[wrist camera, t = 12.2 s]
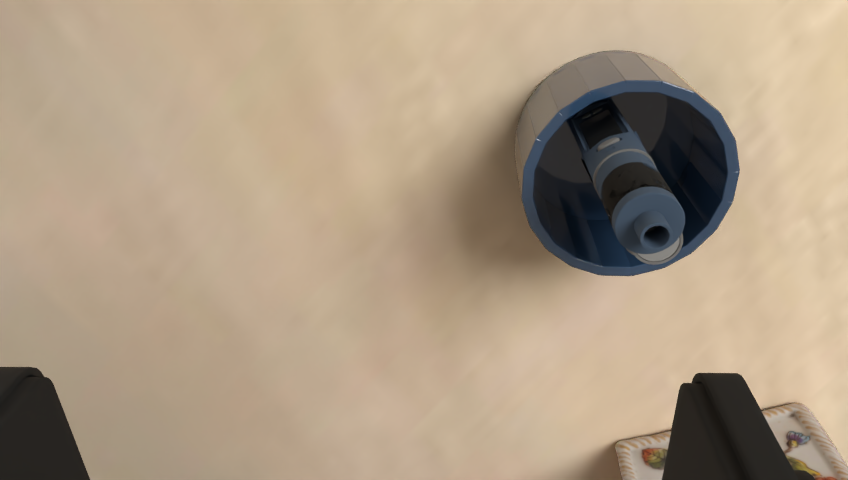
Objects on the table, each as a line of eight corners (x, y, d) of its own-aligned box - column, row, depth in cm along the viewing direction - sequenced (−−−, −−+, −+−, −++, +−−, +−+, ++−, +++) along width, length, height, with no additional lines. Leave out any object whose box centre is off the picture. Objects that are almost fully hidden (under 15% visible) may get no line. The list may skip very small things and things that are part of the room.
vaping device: (610, 86, 32) (681, 188, 21) (652, 177, 34) (736, 312, 23) (560, 112, 33) (603, 223, 22) (604, 200, 35) (663, 340, 24)
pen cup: (520, 49, 32) (529, 79, 27) (715, 50, 31) (760, 81, 27) (510, 221, 36) (516, 274, 31) (682, 224, 36) (716, 278, 31)
